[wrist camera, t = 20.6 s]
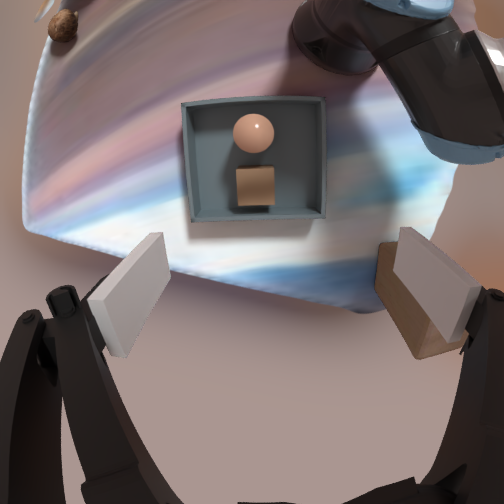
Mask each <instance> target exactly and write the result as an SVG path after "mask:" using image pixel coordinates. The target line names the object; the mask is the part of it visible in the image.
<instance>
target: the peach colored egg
mask: <svg viewBox="0 0 504 504" xmlns="http://www.w3.org/2000/svg"><path fill="white" fill-rule="evenodd" d="M233 137H234V141H235V143H236V144H237V146H238V147H239V148H241V149H242V150H244V151H246V152H249V153H258V152H261V151H264V150H265V149H267V148H268V147H269V146H270V144H271V143H272V141H273V138H274V129H273V126H272V124H271V122H270V121H269V120H268V119H267V118H266V117H264V116H262V115H259V114H248V115H245V116H243V117H242V118H240V119H239V120H238V121H237V123H236V124H235V126H234V129H233Z"/></svg>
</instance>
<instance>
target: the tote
mask: <svg viewBox="0 0 504 504" xmlns="http://www.w3.org/2000/svg"><path fill="white" fill-rule="evenodd" d="M181 111H182V128H183V143H184V156H185V168H186V179H187V189H188V199H189V208H190V217H191V222H209V221H234V220H265V219H324V218H325V212H326V173H327V142H326V105H325V97H314V96H249V97H233V98H220V99H210V100H201V101H193V102H186V103H181ZM248 114H259V115H262V116H264V117H266V118H267V119H268V120H269V121H270V122H271V124H272V126H273V129H274V138H273V141H272V143H271V144H270V146H269V147H268V148H267V149H265V150H264V151H261V152H258V153H249V152H246V151H244V150H242V149H241V148H239V147H238V146H237V144H236V143H235V141H234V137H233V129H234V126H235V124H236V123H237V121H238V120H239V119H240V118H242V117H243V116H245V115H248ZM242 165H273V167H274V184H275V205H246V206H238V196H237V178H236V169H237V168H238V166H242Z"/></svg>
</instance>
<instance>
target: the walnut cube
mask: <svg viewBox="0 0 504 504" xmlns="http://www.w3.org/2000/svg"><path fill="white" fill-rule="evenodd" d="M236 178H237V196H238V206H246V205H275V184H274V167H273V165H242V166H238V168H237V169H236Z"/></svg>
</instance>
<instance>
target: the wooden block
mask: <svg viewBox="0 0 504 504" xmlns="http://www.w3.org/2000/svg"><path fill="white" fill-rule="evenodd" d="M397 246H398V242H386V243H381V244H380V246H379V254H378V263H377V271H376V279H375V286H374V288H375V291H376V293H377V294H378V296H379V298H380V299H381V301H382V302H383V304H384V306H385V307H386V309H387V311H388V312H389V314H390V316H391V317H392V319H393V321H394V322H395V324H396V326H397V328H398V329H399V331H400V333H401V335H402V336H403V338H404V340H405V342H406V343H407V345H408V347H409V349H410V351H411V353H412V355H413V356H414V358H415V359H419V360H421V359H424V358H427V357H432V356H435V355H438V354H442V353H445V352H448V351H452V350H455V349H458V348H460V347H462V346H463V345H464V343H465V341H466V339H467V337H468V335H469V333H468V332H467V331H466V329H465V330H464V332H463V335H462V337H461V339H460V340H459V341H456V342H452V343H447V342H446V340H445V339H444V337H443V336H442V335H441V333H440V332H439V330H438V329H437V327H436V326H435V325H434V323H433V322H432V320H431V319H430V318H429V316H428V315H427V314H426V312H425V311H424V310H423V308H422V307H421V306H420V304H419V303H418V302H417V300H416V299H415V298H414V296H413V295H412V294H411V292H410V291H409V290H408V289H407V287H406V286H405V285H404V284H403V282H402V281H401V280H400V279H399V277H398V276H397V275H396V274H395V273H394V271H393V268H394V263H395V258H396V252H397Z"/></svg>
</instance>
